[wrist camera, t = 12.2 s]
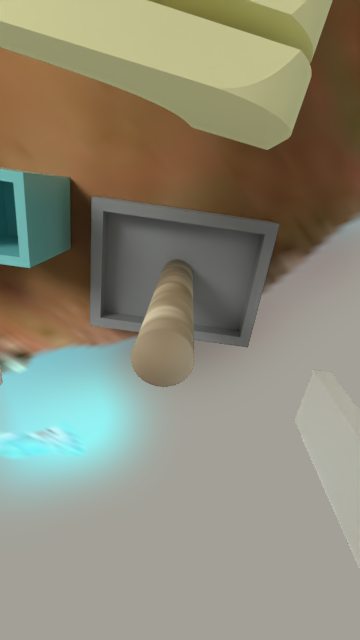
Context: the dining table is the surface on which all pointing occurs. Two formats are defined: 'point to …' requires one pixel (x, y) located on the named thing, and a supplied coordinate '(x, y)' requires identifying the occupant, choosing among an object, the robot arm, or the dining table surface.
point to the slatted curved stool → (184, 55)
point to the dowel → (167, 329)
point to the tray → (184, 244)
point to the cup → (33, 217)
